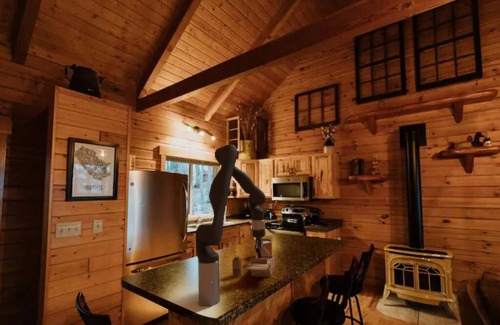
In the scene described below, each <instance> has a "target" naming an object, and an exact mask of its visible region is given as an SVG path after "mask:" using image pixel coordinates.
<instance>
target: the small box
mask: <svg viewBox="0 0 500 325" xmlns="http://www.w3.org/2000/svg"><path fill="white" fill-rule="evenodd" d="M272 244H273V243H272V241H271V242H269V241H263V250H262V252H261V253H262V256H273V246H272Z"/></svg>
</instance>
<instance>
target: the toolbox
mask: <svg viewBox="0 0 500 325" xmlns="http://www.w3.org/2000/svg"><path fill="white" fill-rule="evenodd" d="M254 258H258V257H257V255H256V256H255V257H254ZM262 258H267V259H272V261H271V263H270V265H269V267H268V268H267V270H250V277H259V278H261V277H262V278H271V277H272V276H273V275H272V274H274V271H275V268H276V265H275V264H276V262H275V261H276V260H275V259H276V258H275V255H272V256H262Z"/></svg>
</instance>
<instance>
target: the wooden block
mask: <svg viewBox="0 0 500 325" xmlns="http://www.w3.org/2000/svg"><path fill="white" fill-rule="evenodd" d="M231 264H232V277H233V278H240V277H241V276H242V258H240V256H234V257H233V259H232V263H231Z"/></svg>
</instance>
